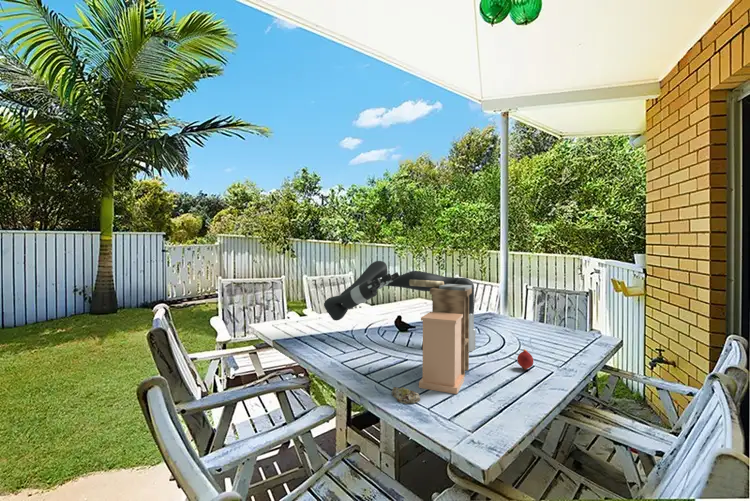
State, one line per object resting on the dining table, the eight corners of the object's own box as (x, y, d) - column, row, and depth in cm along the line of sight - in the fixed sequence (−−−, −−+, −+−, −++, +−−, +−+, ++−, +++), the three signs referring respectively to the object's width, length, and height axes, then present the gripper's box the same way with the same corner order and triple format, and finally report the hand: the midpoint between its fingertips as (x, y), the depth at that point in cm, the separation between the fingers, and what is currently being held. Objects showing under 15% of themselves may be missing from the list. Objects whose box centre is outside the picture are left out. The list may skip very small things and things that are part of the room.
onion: (532, 368, 142) (532, 348, 142) (534, 372, 136) (534, 352, 136) (516, 366, 144) (517, 346, 144) (517, 371, 138) (517, 350, 138)
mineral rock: (427, 392, 114) (412, 392, 108) (425, 406, 113) (409, 407, 107) (402, 383, 121) (386, 383, 116) (400, 397, 120) (384, 397, 115)
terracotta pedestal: (418, 387, 122) (419, 317, 122) (429, 375, 134) (429, 311, 134) (457, 394, 117) (457, 321, 117) (464, 380, 129) (464, 314, 128)
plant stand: (429, 372, 137) (429, 289, 136) (436, 364, 146) (436, 286, 145) (466, 378, 131) (467, 291, 130) (471, 369, 140) (471, 288, 139)
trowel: (405, 286, 143) (405, 280, 143) (414, 284, 151) (415, 278, 151) (464, 290, 131) (465, 283, 131) (471, 288, 139) (471, 281, 139)
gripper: (352, 286, 147) (383, 267, 141) (367, 282, 160) (396, 266, 154) (360, 302, 146) (392, 284, 140) (374, 297, 159) (404, 281, 153)
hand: (394, 275), depth 147 cm, fingers open, 8 cm apart
